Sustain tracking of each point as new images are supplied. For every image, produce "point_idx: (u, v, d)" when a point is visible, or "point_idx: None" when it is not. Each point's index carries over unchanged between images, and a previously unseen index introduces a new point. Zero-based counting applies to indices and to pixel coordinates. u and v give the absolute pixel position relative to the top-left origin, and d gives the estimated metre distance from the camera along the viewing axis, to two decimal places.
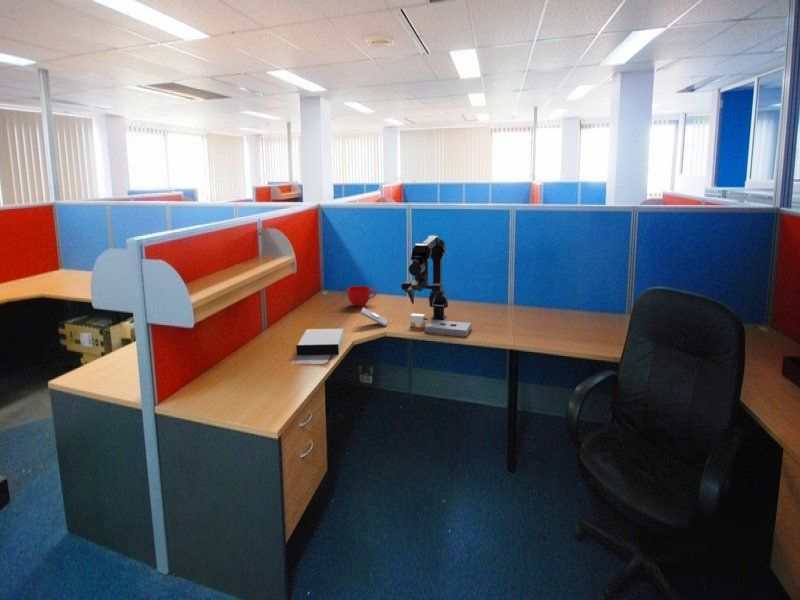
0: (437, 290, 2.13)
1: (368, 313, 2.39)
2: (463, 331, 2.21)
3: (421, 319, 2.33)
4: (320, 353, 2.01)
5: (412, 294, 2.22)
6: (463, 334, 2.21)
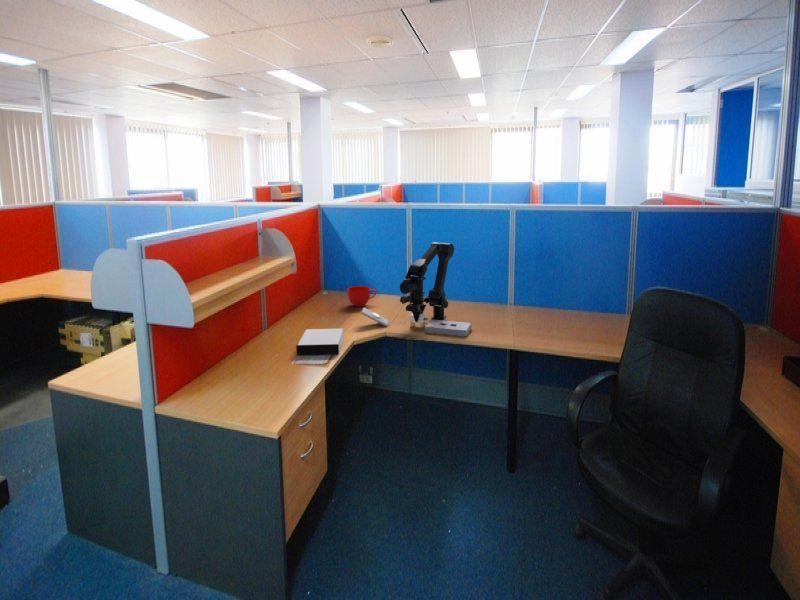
0: None
1: (369, 313, 2.39)
2: (463, 331, 2.21)
3: (421, 319, 2.33)
4: (320, 353, 2.01)
5: None
6: (463, 334, 2.21)
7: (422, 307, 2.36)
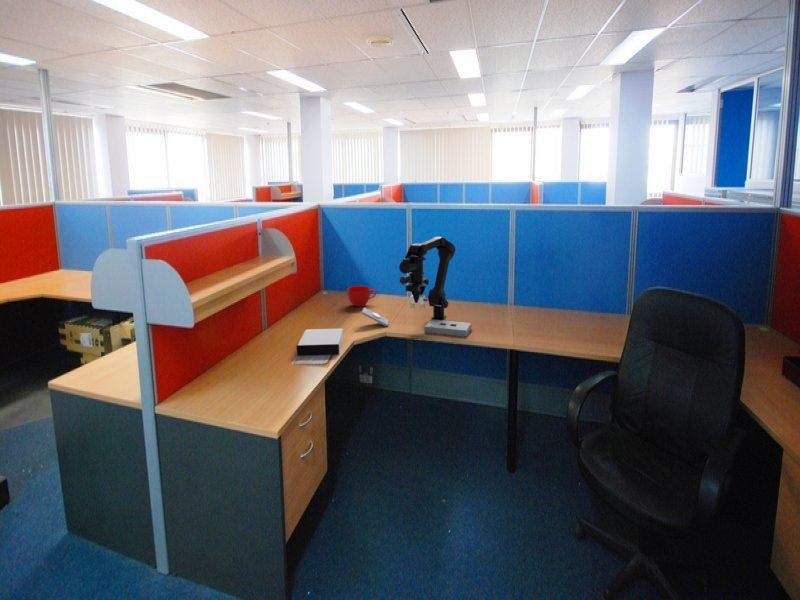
0: None
1: (369, 313, 2.39)
2: (463, 331, 2.21)
3: (421, 300, 2.31)
4: (320, 353, 2.01)
5: None
6: (463, 334, 2.21)
7: (422, 288, 2.34)
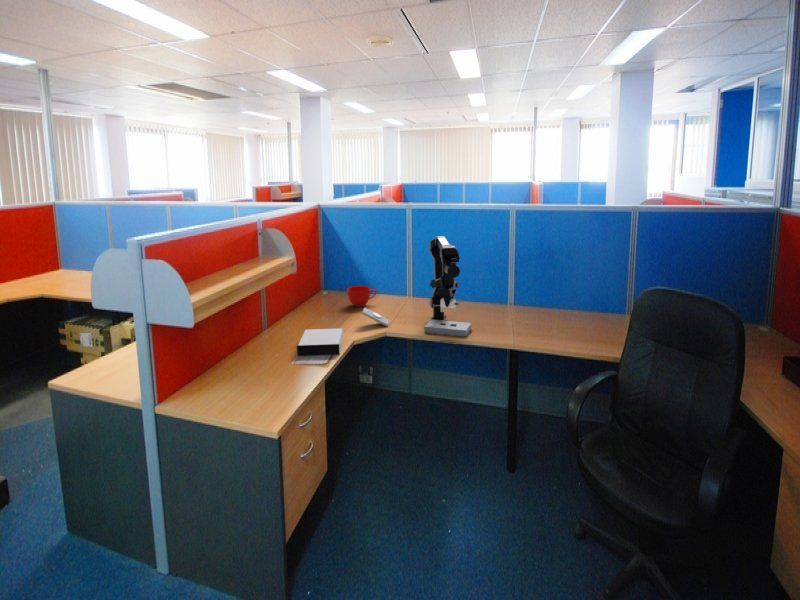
0: None
1: (370, 313, 2.39)
2: (463, 331, 2.21)
3: (452, 304, 2.24)
4: (321, 353, 2.01)
5: None
6: (463, 334, 2.21)
7: (453, 292, 2.27)
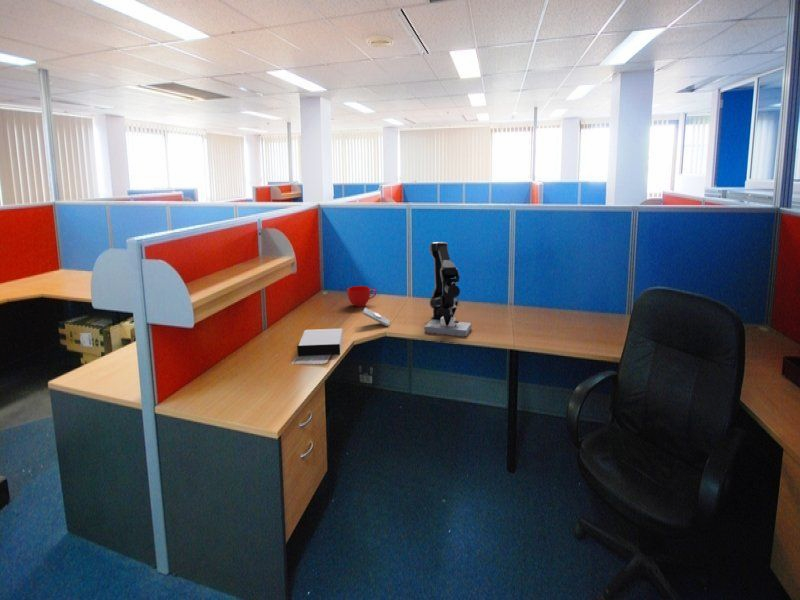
0: None
1: (370, 313, 2.39)
2: (463, 331, 2.21)
3: (452, 322, 2.26)
4: (321, 353, 2.01)
5: None
6: (463, 334, 2.21)
7: (453, 310, 2.29)
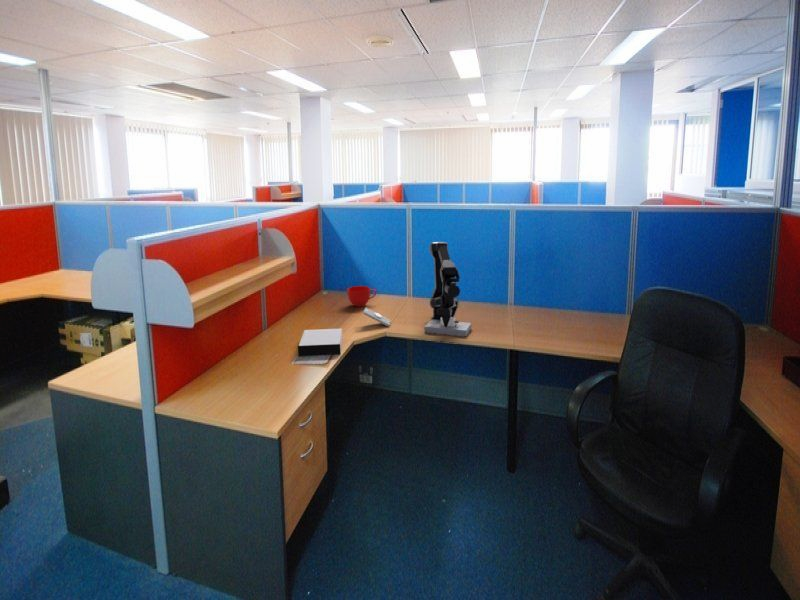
0: None
1: (371, 313, 2.39)
2: (463, 331, 2.21)
3: (452, 322, 2.26)
4: (322, 353, 2.01)
5: None
6: (463, 334, 2.21)
7: (454, 309, 2.31)
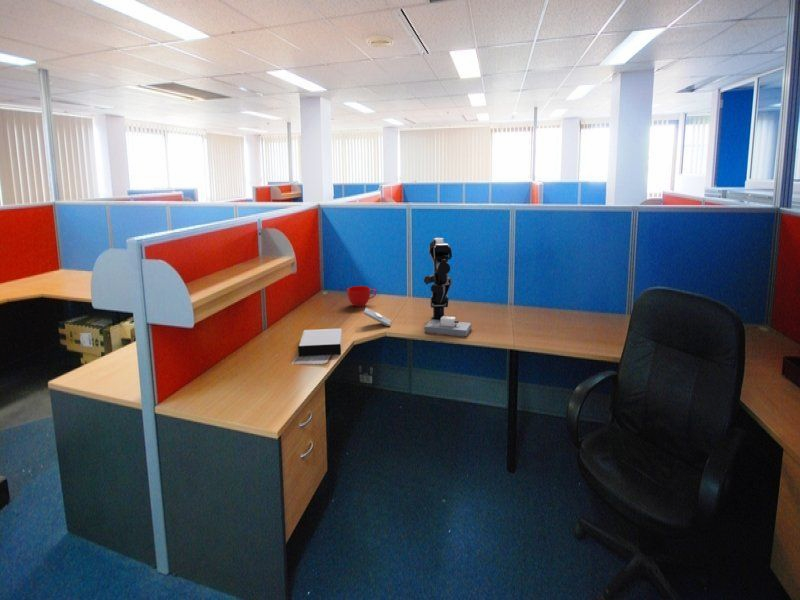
0: None
1: (371, 313, 2.39)
2: (463, 331, 2.21)
3: (452, 322, 2.26)
4: (322, 353, 2.01)
5: (444, 290, 2.37)
6: (463, 334, 2.21)
7: (447, 286, 2.36)
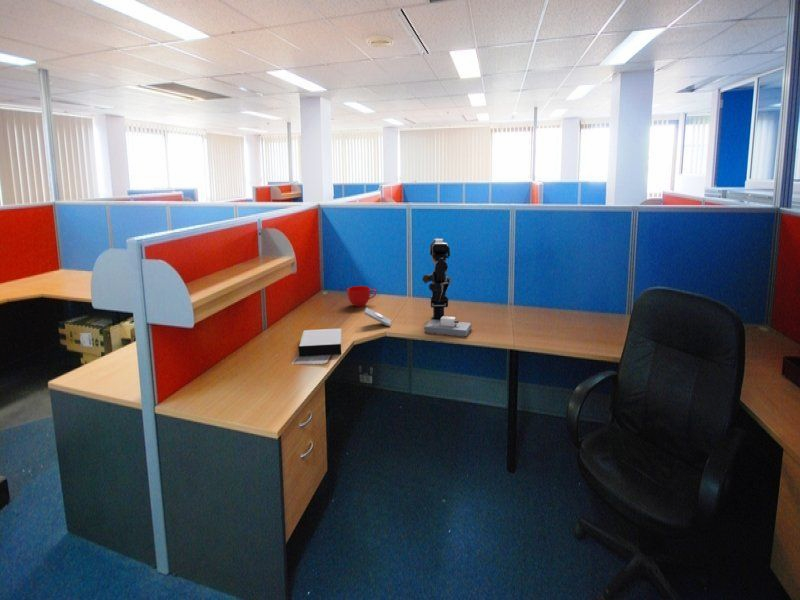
0: None
1: (372, 313, 2.39)
2: (463, 331, 2.21)
3: (452, 322, 2.26)
4: (323, 353, 2.01)
5: (443, 289, 2.38)
6: (463, 334, 2.21)
7: (446, 285, 2.37)
